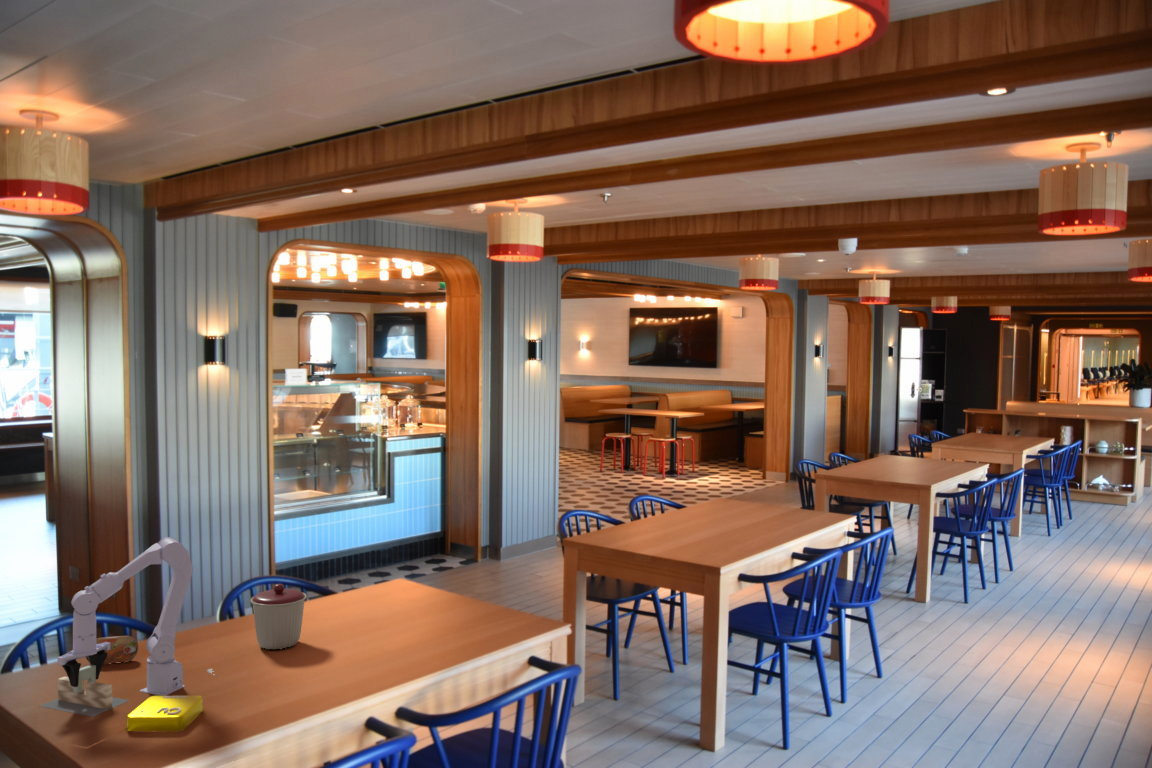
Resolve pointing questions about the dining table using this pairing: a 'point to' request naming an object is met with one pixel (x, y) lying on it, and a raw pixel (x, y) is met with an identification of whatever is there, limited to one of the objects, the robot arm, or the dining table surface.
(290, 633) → the canister
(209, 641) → the dining table surface
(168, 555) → the robot arm
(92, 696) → the birch notched plate
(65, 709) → the slate mat
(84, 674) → the sage slotted block
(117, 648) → the tin
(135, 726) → the element tile
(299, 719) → the dining table surface
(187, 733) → the dining table surface
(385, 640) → the dining table surface
